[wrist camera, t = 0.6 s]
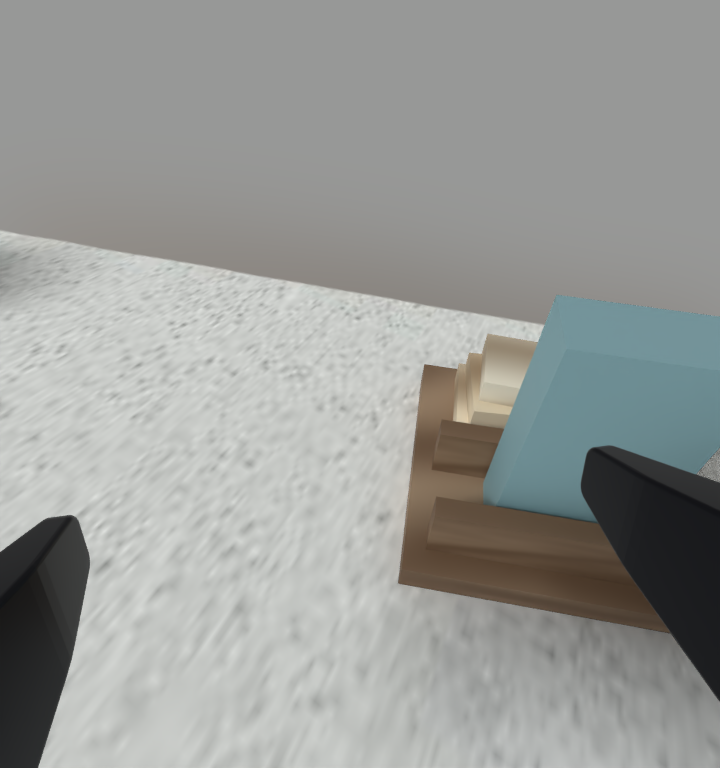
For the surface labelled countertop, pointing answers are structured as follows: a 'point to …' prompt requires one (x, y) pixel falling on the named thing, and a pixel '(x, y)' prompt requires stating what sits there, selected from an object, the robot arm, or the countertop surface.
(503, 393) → the offcut top
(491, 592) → the rack
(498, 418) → the block
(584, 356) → the pale teal tall slab
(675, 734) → the countertop surface
